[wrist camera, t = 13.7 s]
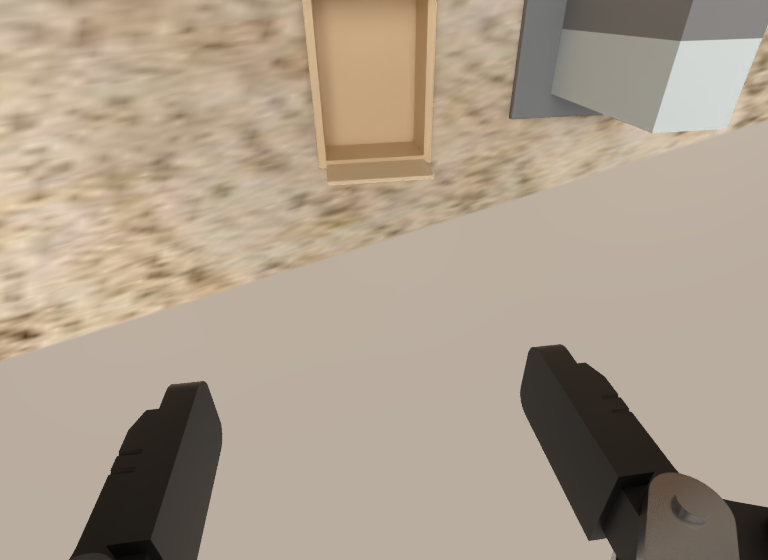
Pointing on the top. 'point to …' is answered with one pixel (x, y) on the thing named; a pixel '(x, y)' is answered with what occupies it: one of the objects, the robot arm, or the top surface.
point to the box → (659, 59)
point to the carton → (372, 87)
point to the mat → (540, 64)
